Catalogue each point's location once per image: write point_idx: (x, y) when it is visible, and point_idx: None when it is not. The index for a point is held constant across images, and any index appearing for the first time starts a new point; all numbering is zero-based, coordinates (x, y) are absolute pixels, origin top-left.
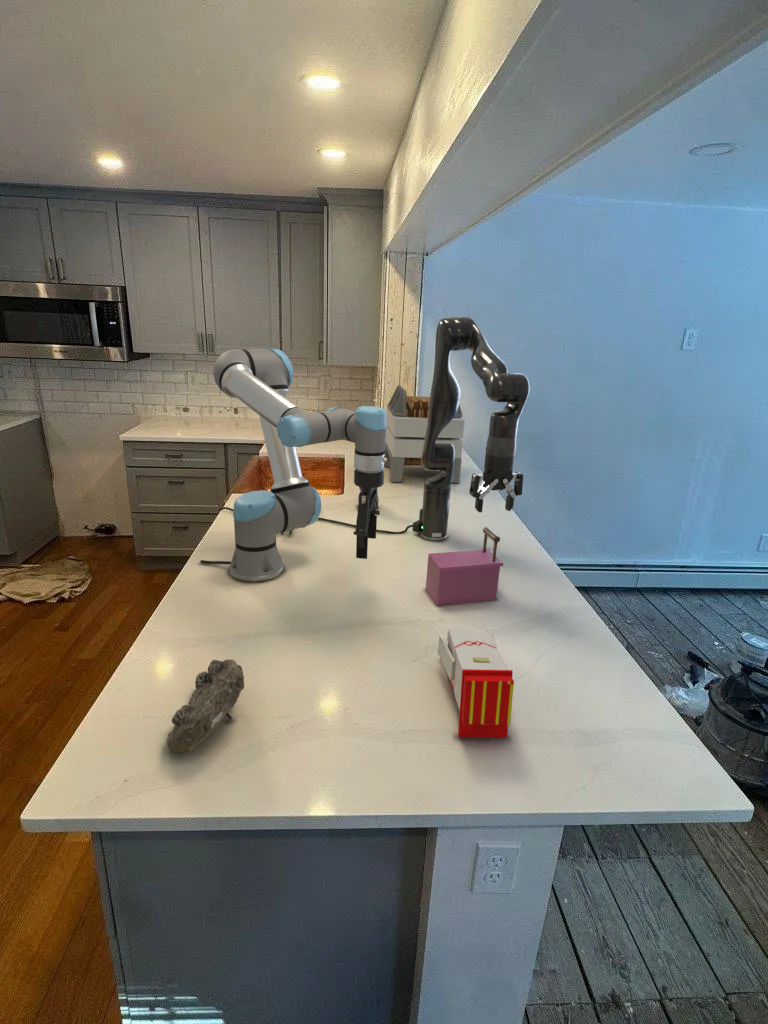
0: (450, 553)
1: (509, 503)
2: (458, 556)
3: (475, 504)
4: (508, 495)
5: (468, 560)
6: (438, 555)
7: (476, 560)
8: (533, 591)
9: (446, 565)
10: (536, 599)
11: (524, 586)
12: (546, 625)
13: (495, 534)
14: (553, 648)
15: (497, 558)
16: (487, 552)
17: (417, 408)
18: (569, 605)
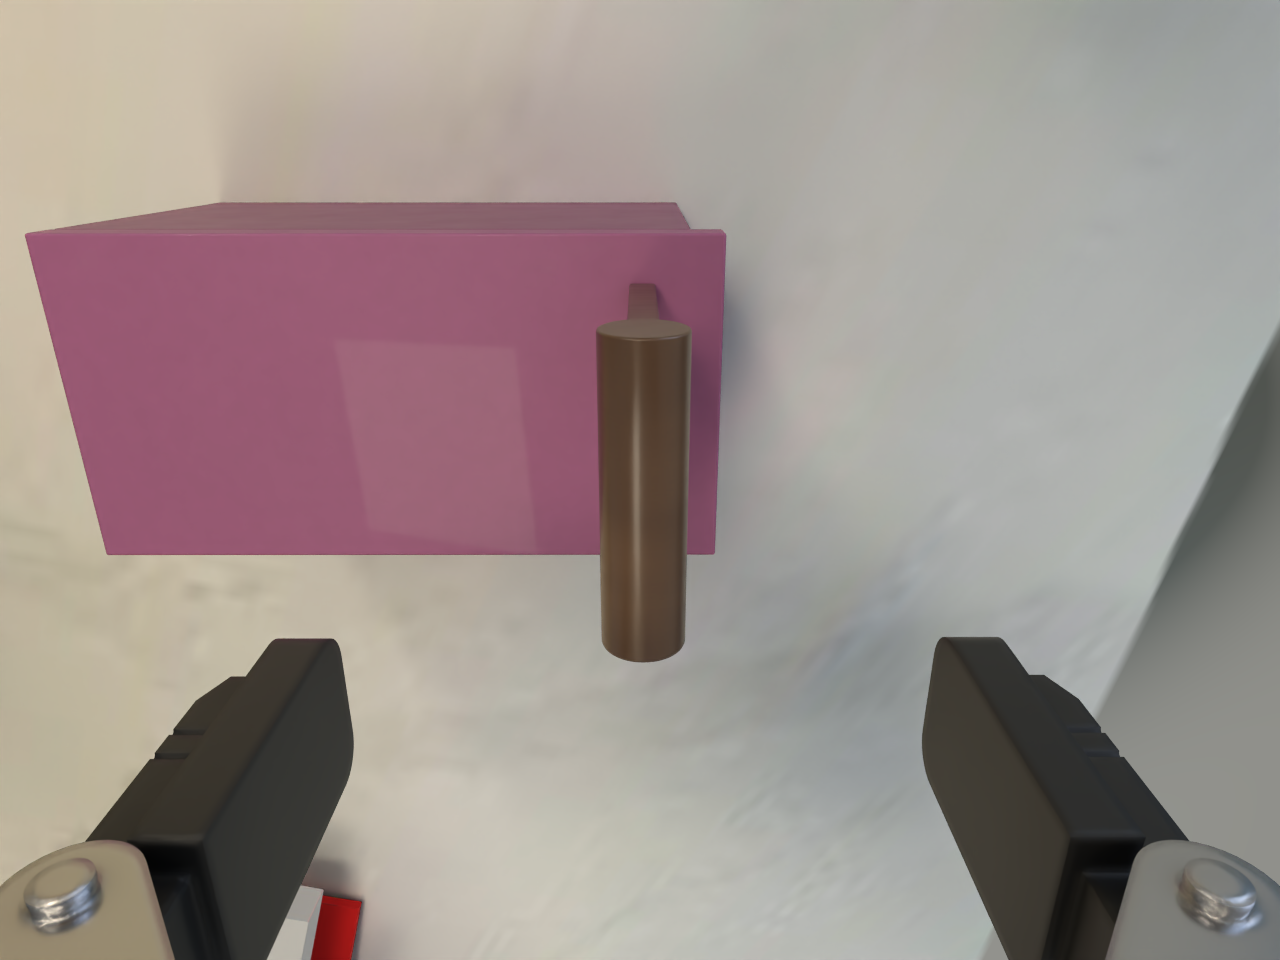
0: (266, 273)
1: (980, 876)
2: (334, 355)
3: (164, 763)
4: (1091, 929)
5: (406, 458)
6: (128, 298)
7: (484, 469)
8: (991, 375)
9: (171, 519)
10: (938, 477)
11: (977, 292)
12: (809, 727)
13: (651, 602)
14: (722, 879)
15: (706, 461)
16: (673, 312)
17: None
18: (1088, 577)
